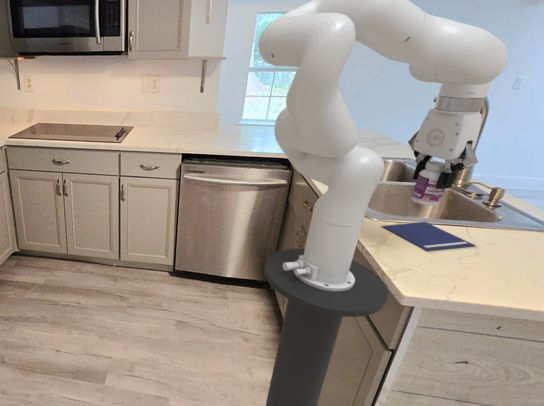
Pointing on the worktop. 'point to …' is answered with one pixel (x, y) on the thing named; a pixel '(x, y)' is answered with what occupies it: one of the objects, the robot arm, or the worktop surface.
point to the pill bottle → (429, 184)
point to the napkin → (427, 236)
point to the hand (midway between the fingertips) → (431, 182)
